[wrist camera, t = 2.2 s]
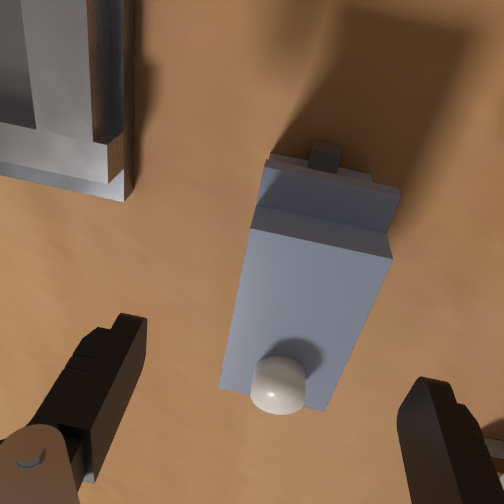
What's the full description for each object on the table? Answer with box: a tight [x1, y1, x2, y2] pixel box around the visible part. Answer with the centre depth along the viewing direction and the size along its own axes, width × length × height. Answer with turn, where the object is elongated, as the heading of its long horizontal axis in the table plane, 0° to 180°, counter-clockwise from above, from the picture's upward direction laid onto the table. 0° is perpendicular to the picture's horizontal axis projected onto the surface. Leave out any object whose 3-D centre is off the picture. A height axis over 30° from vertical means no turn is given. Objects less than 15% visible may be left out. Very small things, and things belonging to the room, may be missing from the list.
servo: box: [219, 140, 402, 415], centre depth 15 cm, size 10×4×7 cm, turn 170°
